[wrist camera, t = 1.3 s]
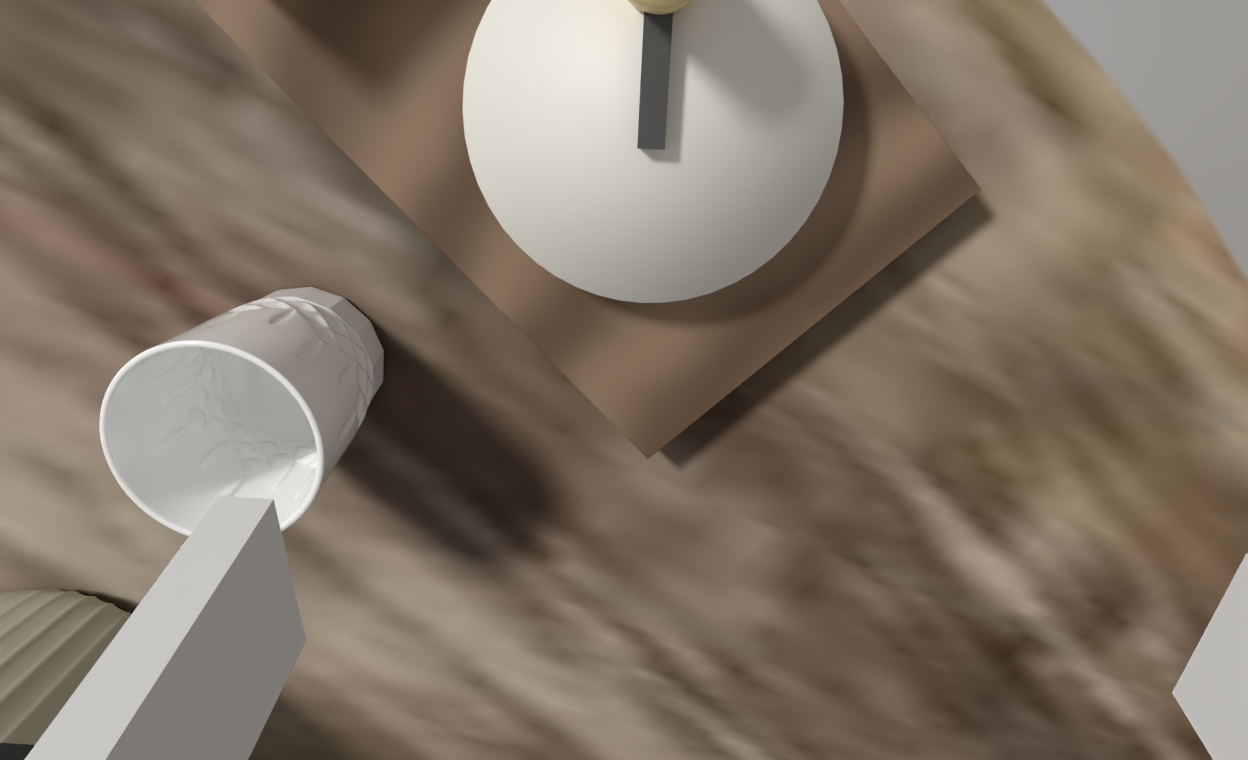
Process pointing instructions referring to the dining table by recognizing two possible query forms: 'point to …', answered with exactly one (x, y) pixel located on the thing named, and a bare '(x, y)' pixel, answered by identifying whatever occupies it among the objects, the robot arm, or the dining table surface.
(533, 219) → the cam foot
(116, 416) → the white cup
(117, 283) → the dining table surface
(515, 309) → the stand
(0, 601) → the canister
